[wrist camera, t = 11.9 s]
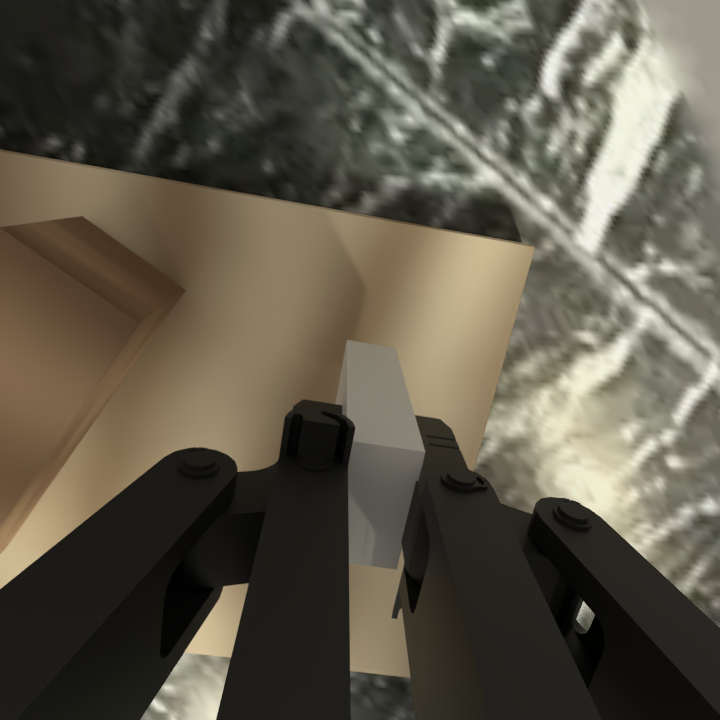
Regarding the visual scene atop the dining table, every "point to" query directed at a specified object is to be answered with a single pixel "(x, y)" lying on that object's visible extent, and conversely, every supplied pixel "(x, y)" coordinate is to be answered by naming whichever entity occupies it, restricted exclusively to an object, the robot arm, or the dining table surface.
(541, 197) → the dining table surface
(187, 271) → the board
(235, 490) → the robot arm
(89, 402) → the leg
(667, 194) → the dining table surface
